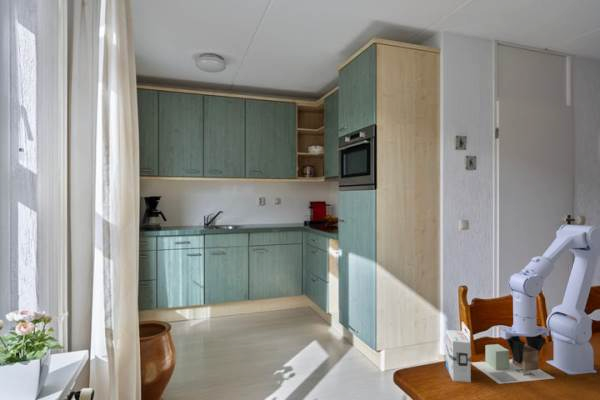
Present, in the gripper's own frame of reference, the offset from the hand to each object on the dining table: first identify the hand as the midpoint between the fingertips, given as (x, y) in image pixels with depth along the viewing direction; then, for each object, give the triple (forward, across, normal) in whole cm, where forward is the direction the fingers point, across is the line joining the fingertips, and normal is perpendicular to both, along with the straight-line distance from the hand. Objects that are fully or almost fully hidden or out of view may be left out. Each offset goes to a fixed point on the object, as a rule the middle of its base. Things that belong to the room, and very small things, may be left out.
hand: (525, 360), depth 97 cm
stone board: (+4, +3, -2) cm, 5 cm away
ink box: (+4, +20, -2) cm, 21 cm away
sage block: (+3, +5, -5) cm, 8 cm away
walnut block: (+2, 0, 0) cm, 2 cm away
